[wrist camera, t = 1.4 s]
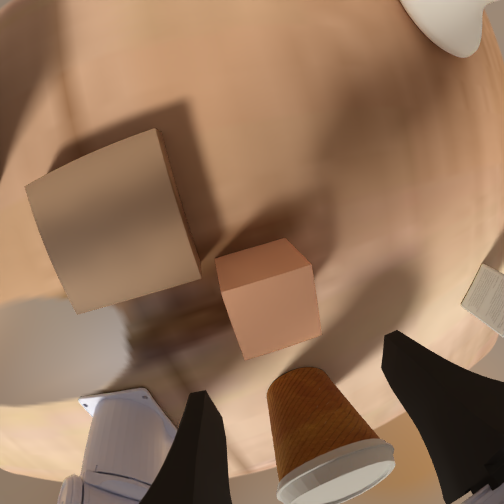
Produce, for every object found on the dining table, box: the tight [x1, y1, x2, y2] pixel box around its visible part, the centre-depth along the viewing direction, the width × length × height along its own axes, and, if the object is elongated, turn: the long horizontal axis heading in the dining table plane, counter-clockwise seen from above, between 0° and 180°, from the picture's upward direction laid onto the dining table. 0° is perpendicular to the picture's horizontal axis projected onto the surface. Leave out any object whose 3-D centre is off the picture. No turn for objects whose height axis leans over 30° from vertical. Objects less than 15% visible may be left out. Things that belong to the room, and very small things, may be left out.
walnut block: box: [25, 128, 202, 314], centre depth 16 cm, size 9×9×3 cm
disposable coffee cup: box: [267, 367, 395, 504], centre depth 20 cm, size 10×10×12 cm
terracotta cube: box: [215, 238, 322, 360], centre depth 18 cm, size 5×5×5 cm
